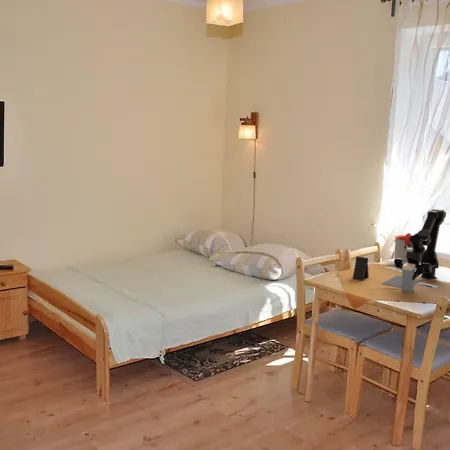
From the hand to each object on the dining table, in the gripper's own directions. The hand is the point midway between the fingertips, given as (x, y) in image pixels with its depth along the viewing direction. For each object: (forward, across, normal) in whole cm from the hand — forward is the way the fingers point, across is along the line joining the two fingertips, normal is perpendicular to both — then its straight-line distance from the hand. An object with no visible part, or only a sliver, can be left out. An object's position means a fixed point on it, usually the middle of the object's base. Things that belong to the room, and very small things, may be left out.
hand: (407, 279), depth 282 cm
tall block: (+4, 0, +6) cm, 7 cm away
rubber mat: (-5, -8, +15) cm, 17 cm away
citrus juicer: (-32, -20, +42) cm, 57 cm away
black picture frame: (0, -29, +10) cm, 31 cm away
